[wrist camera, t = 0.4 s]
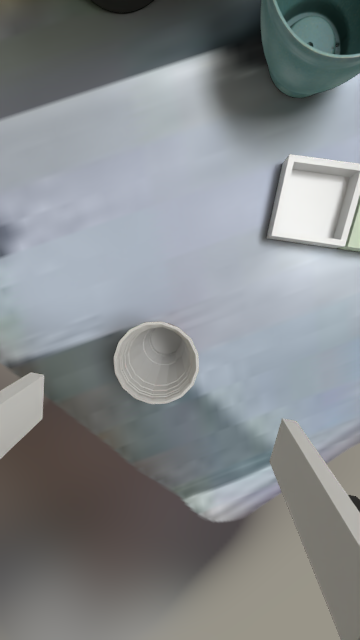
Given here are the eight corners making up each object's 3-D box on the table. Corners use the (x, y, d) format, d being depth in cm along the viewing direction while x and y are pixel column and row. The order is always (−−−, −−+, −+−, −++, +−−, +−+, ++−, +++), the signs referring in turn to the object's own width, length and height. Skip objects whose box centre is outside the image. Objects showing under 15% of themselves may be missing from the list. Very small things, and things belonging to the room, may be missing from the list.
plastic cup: (209, 328, 39) (216, 352, 27) (177, 377, 41) (171, 419, 29) (155, 295, 38) (138, 305, 27) (125, 347, 41) (98, 377, 29)
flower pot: (392, 18, 29) (505, -127, 19) (322, 148, 33) (384, 87, 22) (282, -43, 29) (333, -227, 18) (222, 95, 32) (236, 8, 22)
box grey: (282, 163, 33) (289, 154, 31) (355, 173, 33) (368, 164, 31) (266, 238, 36) (271, 235, 33) (334, 248, 35) (345, 246, 33)
